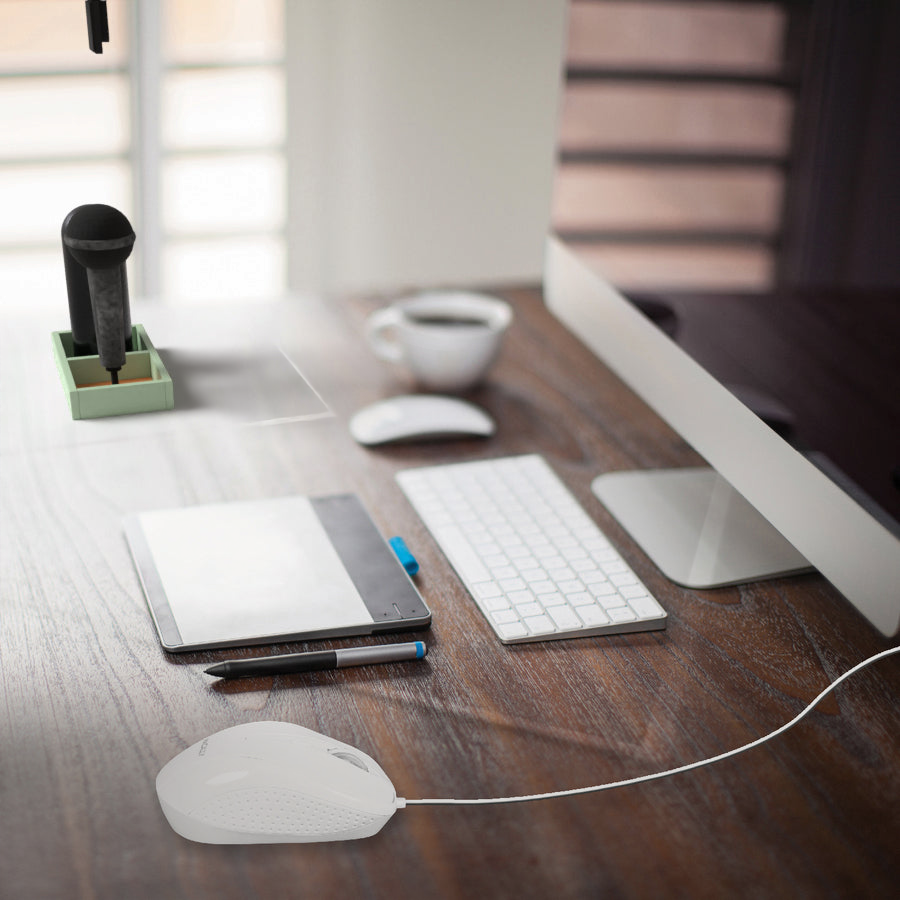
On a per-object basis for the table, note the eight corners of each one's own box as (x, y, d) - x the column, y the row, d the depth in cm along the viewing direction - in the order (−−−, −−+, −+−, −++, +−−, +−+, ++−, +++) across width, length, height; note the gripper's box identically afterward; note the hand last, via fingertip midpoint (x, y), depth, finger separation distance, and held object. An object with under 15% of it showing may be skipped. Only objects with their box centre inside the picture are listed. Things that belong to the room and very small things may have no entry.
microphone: (68, 401, 118) (45, 208, 110) (106, 379, 124) (87, 194, 116) (126, 410, 116) (107, 214, 108) (162, 388, 122) (146, 200, 114)
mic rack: (73, 424, 114) (69, 391, 113) (54, 360, 130) (50, 331, 129) (174, 412, 118) (172, 381, 116) (144, 351, 134) (141, 323, 133)
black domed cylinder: (78, 379, 124) (61, 213, 116) (72, 360, 129) (55, 199, 122) (138, 373, 126) (125, 209, 119) (130, 354, 132) (116, 196, 124)
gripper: (120, -180, 90) (137, 47, 97) (-121, -197, 84) (-84, 48, 91) (135, -187, 84) (151, 57, 91) (-124, -206, 78) (-85, 58, 85)
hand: (34, 52), depth 91 cm, fingers open, 9 cm apart
